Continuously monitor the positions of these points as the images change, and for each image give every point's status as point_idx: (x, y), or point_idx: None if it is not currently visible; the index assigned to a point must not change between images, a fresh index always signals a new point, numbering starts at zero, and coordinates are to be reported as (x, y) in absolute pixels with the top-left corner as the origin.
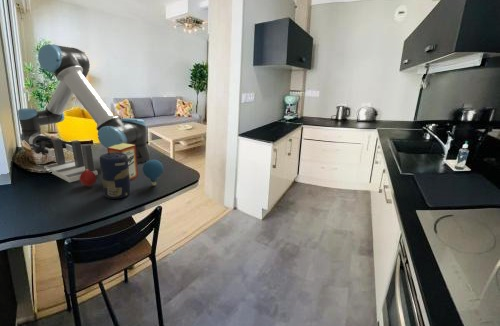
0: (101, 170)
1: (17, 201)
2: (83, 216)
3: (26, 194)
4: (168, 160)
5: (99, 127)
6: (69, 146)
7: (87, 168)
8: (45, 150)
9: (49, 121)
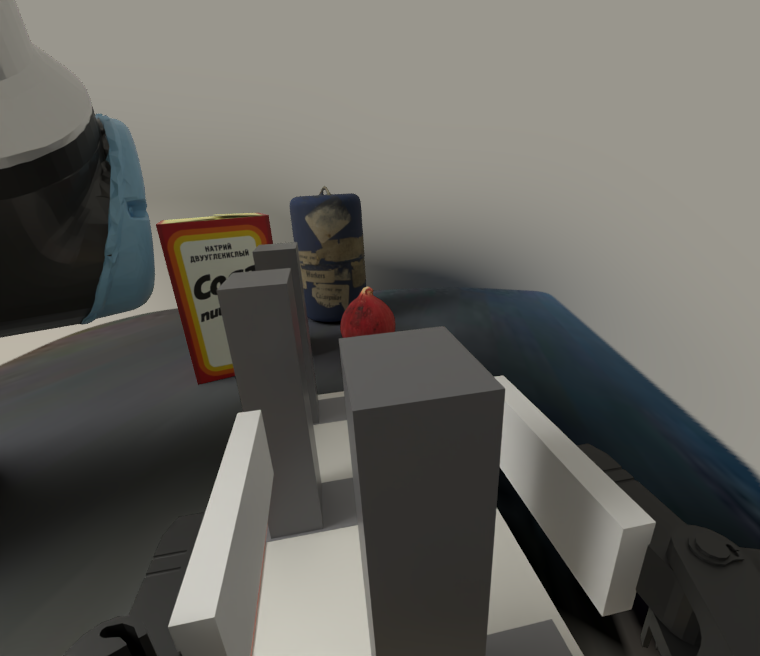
0: (362, 233)
1: (586, 355)
2: (428, 294)
3: (577, 378)
4: None
5: (96, 124)
6: (249, 477)
7: (316, 387)
8: (594, 456)
9: None
